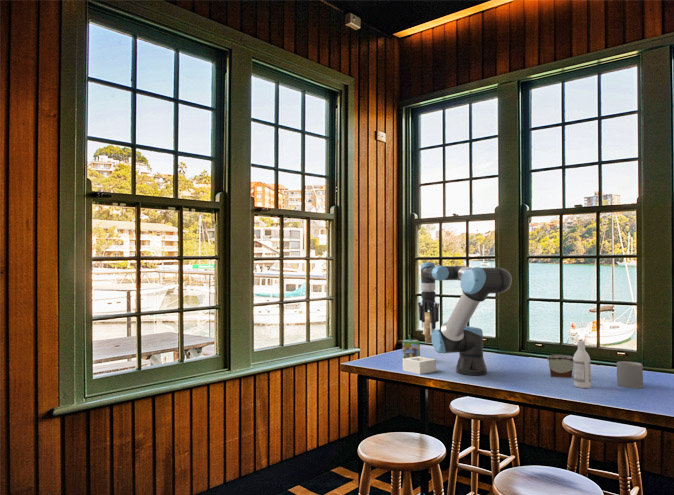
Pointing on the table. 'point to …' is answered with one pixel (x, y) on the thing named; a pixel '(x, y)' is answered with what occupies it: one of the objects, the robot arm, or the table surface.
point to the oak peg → (427, 328)
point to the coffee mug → (630, 374)
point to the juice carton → (411, 348)
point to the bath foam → (581, 367)
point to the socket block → (419, 365)
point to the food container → (560, 366)
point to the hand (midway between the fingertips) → (429, 334)
